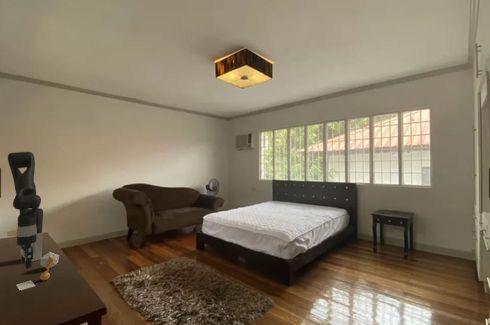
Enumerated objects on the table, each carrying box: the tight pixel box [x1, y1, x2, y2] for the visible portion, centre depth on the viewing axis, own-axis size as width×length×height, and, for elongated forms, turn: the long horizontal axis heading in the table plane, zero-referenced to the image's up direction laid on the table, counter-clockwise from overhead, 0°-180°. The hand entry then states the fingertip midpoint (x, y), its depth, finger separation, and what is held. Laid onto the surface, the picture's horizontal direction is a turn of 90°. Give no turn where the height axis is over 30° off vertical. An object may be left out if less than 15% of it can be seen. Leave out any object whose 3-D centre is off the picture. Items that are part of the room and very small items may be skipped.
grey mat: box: [15, 280, 36, 291], centre depth 121 cm, size 9×6×1 cm, turn 52°
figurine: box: [39, 256, 55, 281], centre depth 128 cm, size 8×6×12 cm
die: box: [39, 251, 60, 270], centre depth 141 cm, size 8×9×10 cm
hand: (26, 265), depth 121 cm, fingers open, 8 cm apart
